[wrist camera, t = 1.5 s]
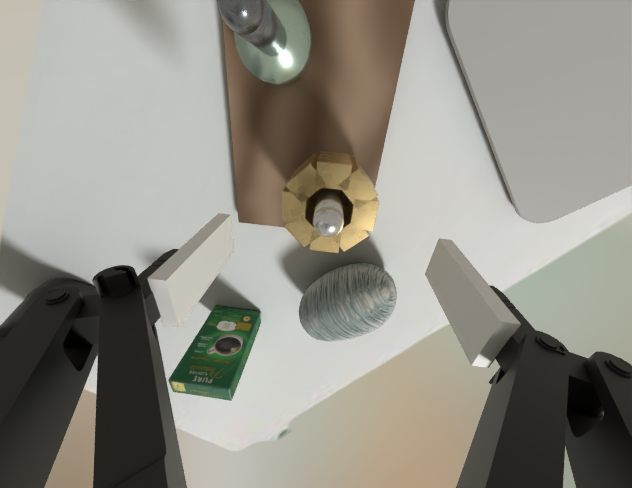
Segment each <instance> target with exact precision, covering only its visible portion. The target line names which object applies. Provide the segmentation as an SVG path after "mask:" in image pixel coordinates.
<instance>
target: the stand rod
mask: <svg viewBox="0 0 632 488" xmlns="http://www.w3.org/2000/svg"><path fill="white" fill-rule="evenodd" d="M310 199H311V200H312V202H313V203H314V204H315V205H316V206H315V212H314V217H313V226H314V229H315V230H316V231H317V233H319V234H320V235H322V236H325V237H332V236H335V235H336V234H338V233H339V232H340V231H341V229H342V227H343V224H344V218H343V206H345V205H346V204H347V203H348V201H349V198H348V197H347V196H346V195H345V193H344V192H343V191H342V190H338V189H329V188H320V189H319V190H318V191H317V192H315V193H314V194H313V195H312V196H310Z"/></svg>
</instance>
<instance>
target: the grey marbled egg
mask: <svg viewBox="0 0 632 488" xmlns="http://www.w3.org/2000/svg"><path fill="white" fill-rule="evenodd" d="M396 297H397V292H396V287H395V283H394V281H393V279H392V277H391V276H390V275H389V274H388V273H387V272H386V271H385V270H384V269H382V268H380V267H378V266H376V265H372V264H367V263H355V264H348V265H345V266H341V267H338V268H335V269H333V270H331V271H329V272H327V273H325V274H324V275H322V276H321V277H320V278H318V279H317V280H316V281H314V282H313V283H312V284H311V285H310V286H309V287H308V289H307V290H306V291H305V293H304V295H303V297H302V299H301V302H300V307H299V317H300V322H301V324H302V326H303V328H304V329H305V331H306V332H307V333H308V334H309V335H311V336H312V337H314V338H315V339H318V340H323V341H341V340H347V339H352V338H356V337H359V336H362V335H364V334H367V333H369V332H371V331H373V330H375V329H377V328H378V327H380V326H381V325H382V324H383V323H385V322H386V320H387V319H388V318H389V317H390V315H391V314H392V312H393V310H394V307H395V304H396Z"/></svg>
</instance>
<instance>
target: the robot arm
mask: <svg viewBox="0 0 632 488" xmlns="http://www.w3.org/2000/svg"><path fill="white" fill-rule="evenodd" d="M233 252H234V245H233V235H232V225H231V215H228V214H217V215H216V216H215V217H214V218H213V219H212V220H211V221H210V222H209V223H208V224H206V225H205V226H204V227H203V228H202V229H201V230H200V231H199V232H198V233H197V234H196V235H194V236H193V237H192V238H191V239H190V240H189V241H188V242H187V243H186V244H185V245H183V246H182V247H181V248H180V249H173V250H170V251H168V252H166V253H164V254H163V255H162V256H161V257H160V258H158V259H157V261H155V262H154V263H153V264H152V265H151V266H149V267H148V268H147V269H146V270H144V271H143V272H142V273H141V274H140V275H139V276H137V275H136V272H135V270H134V268H133V267H131V266H125V265H121V266H114V267H111V268H108V269H105V270H103V271H101V272H99V273H98V274H97V275H96V276H94V278H93V280H92V281H93V283H94V285H95V287H96V288H94V287H92V286H90V285H87V284H85V283H82V282H79V281H75V280H70V279H53V280H49V281H47V282H45V283H44V284H42V285H40V286H39V287H37V288H35V289H34V290H32V291H31V292H30V293H29V294H28V295H27V297H26V298H25V300H24V301H23V302H22V303H21V304H20V305H19V306H18V307H17V308H16V309H15V310H14V311H13V312H12V314H11V315H10V316H9V317H8V318H7V319H6V320H5V321H4V322H3V324H2V325H0V488H44V486H45V484H46V482H47V479H48V477H49V474H50V471H51V469H52V466H53V464H54V461H55V459H56V456H57V454H58V451H59V449H60V446H61V444H62V441H63V439H64V436H65V434H66V431H67V429H68V426H69V424H70V421H71V418H72V416H73V413H74V411H75V408H76V406H77V403H78V401H79V398H80V396H81V393H82V391H83V388H84V386H85V383H86V381H87V378H88V376H89V373H90V371H91V368H92V366H93V363H94V360H95V358H96V356H98V372H97V400H96V427H95V455H94V481H93V488H187V486H186V481H185V476H184V470H183V465H182V460H181V455H180V450H179V445H178V440H177V434H176V429H175V424H174V419H173V413H172V408H171V403H170V398H169V393H168V388H167V382H166V377H165V372H164V367H163V362H162V356H161V351H160V346H159V341H158V336H157V330H156V327H155V323H156V321H157V320H158V319H159V318H161V321H162V324H163V326H167V327H174V328H180V327H181V326H182V324H183V323H184V321H185V320H186V319H187V317H188V316H189V314H190V313H191V312H192V310H193V309H194V307H195V306H196V305H197V303H198V302H199V300H200V299H201V298H202V296H203V295H204V293H205V292H206V290H207V289H208V288H209V286H210V285H211V283H212V282H213V281H214V279H215V278H216V276H217V275H218V274H219V272H220V271H221V269H222V268H223V267H224V265H225V264H226V262H227V261H228V259H229V258H230V257H231V255H232V254H233ZM425 275H426V277H427V279H428V281H429V283H430V285H431V287H432V289H433V291H434V293H435V295H436V297H437V299H438V301H439V303H440V305H441V307H442V309H443V311H444V313H445V315H446V317H447V319H448V320H449V322H450V324H451V326H452V328H453V330H454V332H455V334H456V336H457V338H458V340H459V342H460V344H461V346H462V348H463V350H464V352H465V354H466V356H467V358H468V360H469V362H470V364H471V365H472V366H480V367H488V368H489V367H490V365H491V364H492V363H493V361H494V360H495V359H496V360H497V362H498V363H499V365H500V368H499V370H498V371H497V372H496V374H495V375H494V376H493V377H492V379H491V380H490V381H489V383H490V384H492V383H493V384H492V387H491V390H490V392H489V396H488V398H487V401H486V404H485V407H484V410H483V412H482V415H481V418H480V421H479V424H478V427H477V430H476V432H475V435H474V438H473V441H472V444H471V447H470V449H469V452H468V455H467V458H466V461H465V464H464V467H463V469H462V472H461V475H460V478H459V481H458V484H457V487H456V488H563V473H564V472H563V471H564V452H565V446H566V450H567V454H568V457H569V461H570V465H571V469H572V473H573V477H574V481H575V484H576V488H632V366H631V365H630V364H629V363H627V362H626V361H624V360H622V359H621V358H618V357H616V356H614V355H612V354H608V353H605V352H595V353H594V354H593V355H592V356H591V357H590V358H589V359H588V358H585V357H582V356H579V355H576V354H573V353H570V352H569V351H568V350H567V349H566V347H565V346H564V345H563V344H562V343H561V342H559V341H558V340H557V339H555V338H554V337H552V336H550V335H548V334H546V333H543V332H540V331H536V330H535V329H534V328H533V327H532V326H531V325H530V324H529V322H528V321H527V320H526V319H525V318H524V317H523V315H522V314H521V313H520V312H519V311H518V310H517V309H515V306H514V305H513V304H512V303H510V301H509V299H508V298H507V297H506V296H505V295H504V294H503V293H502V292H501V291H499V290H498V289H497V288H495V287H494V286H489V285H488V284H487V282H486V281H485V280H484V279H483V278H482V276H481V275H480V274H479V273H478V272H477V270H476V269H475V268H474V267H473V265H472V264H471V263H470V262H469V261H468V259H467V258H466V257H465V256H464V255H463V253H462V252H461V251H460V250H459V249H458V247H457V246H456V245H455V244H454V243H453V241H452V240H447V239H439V240H438V242H437V245H436V247H435V250H434V252H433V255H432V257H431V260H430V263H429V265H428V268H427V270H426V273H425Z"/></svg>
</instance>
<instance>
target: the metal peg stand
mask: <svg viewBox="0 0 632 488" xmlns="http://www.w3.org/2000/svg"><path fill="white" fill-rule="evenodd" d="M218 6H219V10H220V13H221V16H222V18H223V19H224V21H225V23H226V24H227V25H228V26H229V28H231V29H232V30H233V31H234V40H235V45H236V48H237V51H238V54H239V56H240V58H241V60H242V62H243V64H244V65H245V67H246V68H247V69H248V70H249V71H250V72H251V73H252V74H253V75H254V76H255V77H257V78H258V79H260V80H262V81H265V82H268V83H271V84H274V85H281V86H283V85H289V84H292V83H294V82H295V81H297V80H298V79H299V78H300V77H302V75H303V74H304V73H305V71H306V70H307V68H308V66H309V63H310V61H311V57H312V50H313V40H312V34H311V30H310V26H309V23H308V20H307V17H306V14H305V12H304V10H303V8H302V6H301V4H300V3H299V1H298V0H218Z"/></svg>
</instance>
